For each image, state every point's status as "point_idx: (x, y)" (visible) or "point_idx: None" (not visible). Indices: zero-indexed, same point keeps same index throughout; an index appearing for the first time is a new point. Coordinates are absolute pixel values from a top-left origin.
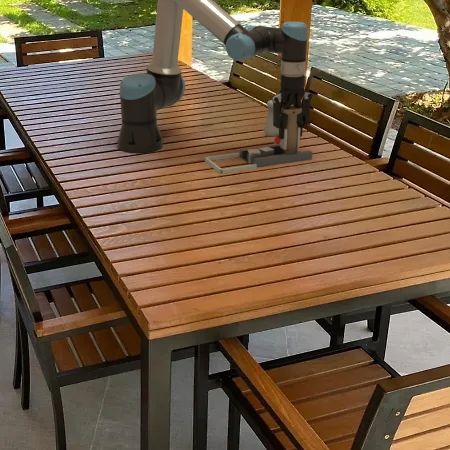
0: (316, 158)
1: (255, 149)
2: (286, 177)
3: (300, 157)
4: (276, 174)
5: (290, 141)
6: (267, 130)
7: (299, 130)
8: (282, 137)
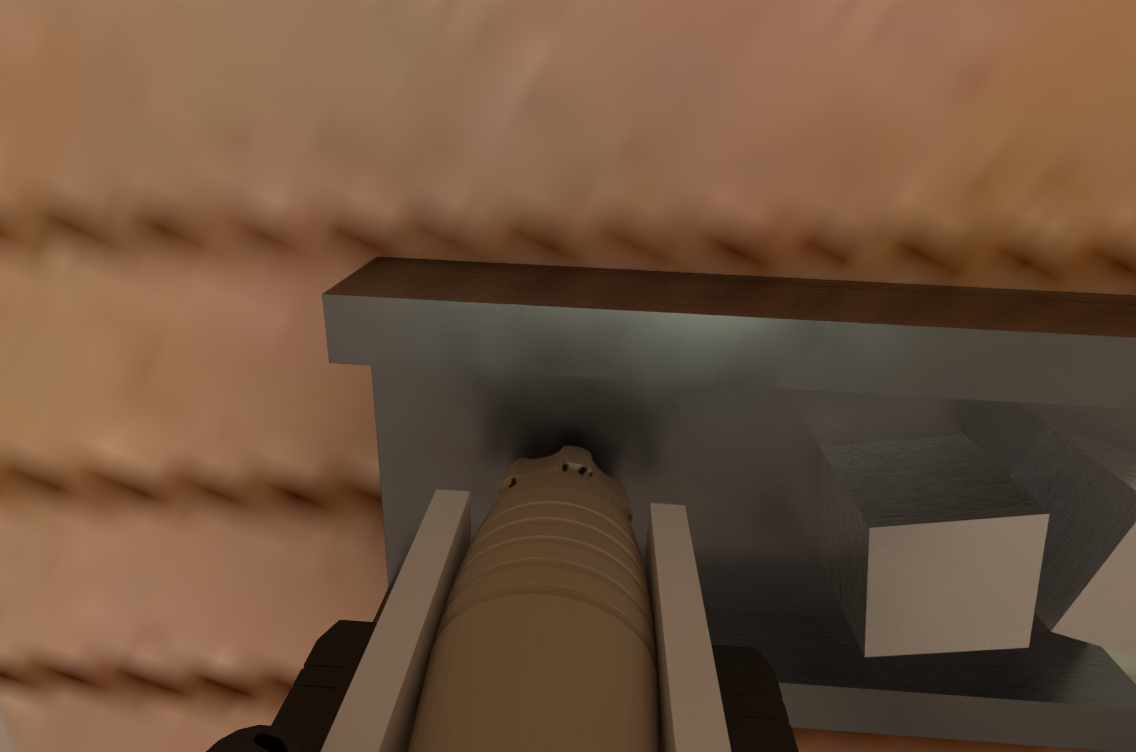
0: (260, 353)
1: (1099, 633)
2: None
3: (533, 289)
4: (1081, 31)
5: (600, 559)
6: None
7: (362, 706)
8: (736, 670)
